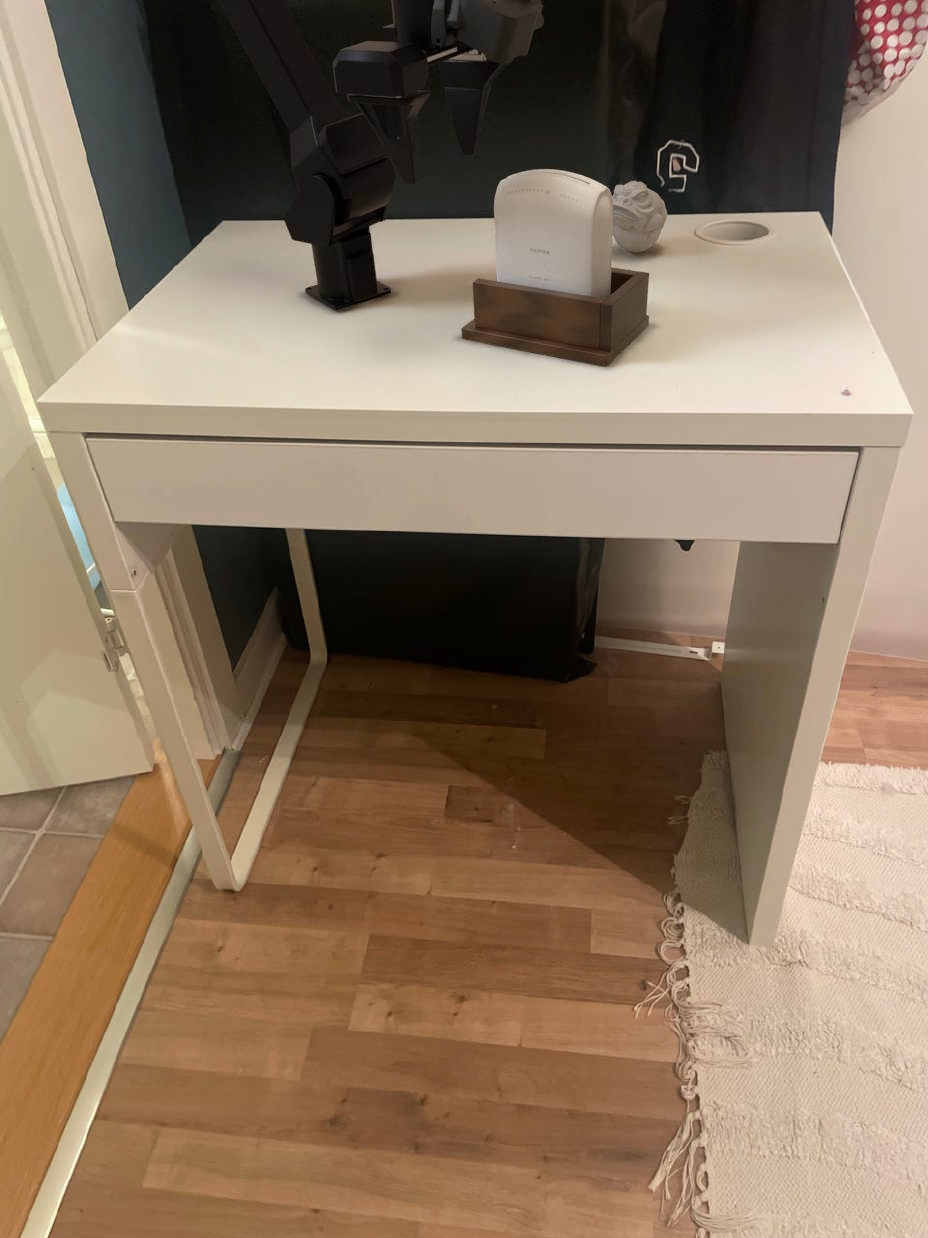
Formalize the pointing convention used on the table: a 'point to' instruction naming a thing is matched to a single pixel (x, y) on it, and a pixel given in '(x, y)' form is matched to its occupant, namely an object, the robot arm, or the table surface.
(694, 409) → the table surface
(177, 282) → the table surface
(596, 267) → the photo printer
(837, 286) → the table surface
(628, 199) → the frog figurine
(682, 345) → the table surface
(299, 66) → the robot arm
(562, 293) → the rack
